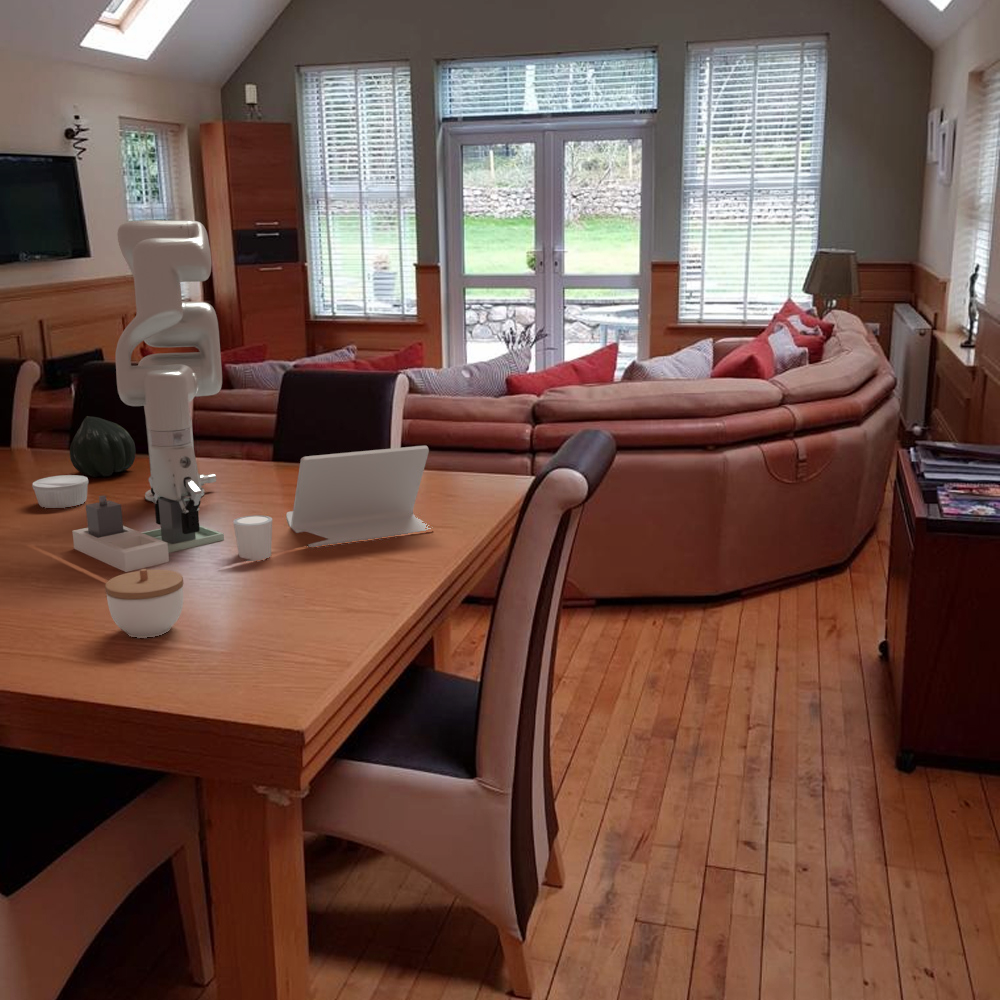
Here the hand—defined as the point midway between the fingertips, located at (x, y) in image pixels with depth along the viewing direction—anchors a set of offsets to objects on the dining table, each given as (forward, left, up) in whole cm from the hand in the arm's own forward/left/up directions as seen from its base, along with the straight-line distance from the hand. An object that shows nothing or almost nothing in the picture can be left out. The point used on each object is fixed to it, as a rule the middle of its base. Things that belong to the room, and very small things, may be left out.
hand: (177, 527), depth 196 cm
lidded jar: (+26, +38, -3) cm, 46 cm away
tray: (0, 0, -3) cm, 3 cm away
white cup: (-5, +18, -3) cm, 19 cm away
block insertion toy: (+12, +1, -3) cm, 12 cm away
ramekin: (+2, -46, -3) cm, 46 cm away
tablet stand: (-30, +17, -4) cm, 34 cm away
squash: (-18, -68, -3) cm, 71 cm away
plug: (0, 0, -2) cm, 2 cm away
